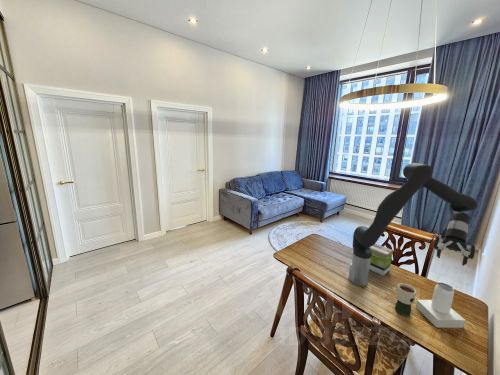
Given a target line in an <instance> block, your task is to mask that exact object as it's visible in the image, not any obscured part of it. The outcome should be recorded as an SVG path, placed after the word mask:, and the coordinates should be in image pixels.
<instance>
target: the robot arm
mask: <svg viewBox="0 0 500 375" xmlns="http://www.w3.org/2000/svg"><path fill="white" fill-rule="evenodd" d="M402 174H403V176H404V178H405V179H407V180H406V182H404V184H403V185H401V186H400V187H399V188H397V189H395V190H393V191H392V192H391V193H389V194H387V195H386V196H385V197H384V199H383V200H382V201H381V202H380V204H379V205H378V206H377V208H376V209H377V210H376V213H375V217H374V220H373V222H372V223H371V225H370V226H369V227H367V226H365V225H360V226H358V227H356V228H355V230H354V232H353V235H352V236H353V237H352V249H353V252H352V258H351V259H352V261H351V263H350V264H349V270H348V280H349V281H350V282H351V283H352V285H354V286H359V287H366V286H368V282H369V276H370V271H371V270H370V263H371V256H372V252H371V249H370V247H371V246H373V245H374V244H377V242H378V241H379V239H380V238H381V236H382V235H383V234H384V232H385V230H386V229H387V228H388V226H389V225H390V224H391V222H392V221H393V220H394V219H395V217H396V216H397V215H398V214H399V213H400V212H401V211H402V209H403V208H404V207H405V205H406V204H407V203H408V202H409V201H410V200H411V199H412V198H413V196H414V195H415V194H416V193H417V192H418V191H419V190H420V189H421V188H422V187H424V188H425V189H426V190H427V191H429V192H431V193H433V195H435V196H437V197H438V198H439V199H441V200H442V201H444V202H445V203H448V208H449V213H450V214H449V215H450V217H449V222H448V224H447V228H446V233H445V236H444V238H441V237H439V236H436V238H435V241H434V244H433V246H432V247H433V249H435V250H436V257H437V259H440V258H441V253H442V252H443V250H446V249H448V250H450V251H454V252H459V253H460V254H461V255H462V256H463V258H462V263H461V265H462V266H466V265H467V264H468V259H470V260H473V259H474V257H475V251H476V247H475V244H474V245H473V244H472V245H469V244H467V238H468V232H469V225H470V219H471V217H470V215H469V214H468V213H465V212H472V211H475V210H476V209H477V208H478V202H477V200H476V199H474V197H472V196H470V195H467V194H465V193H461V192H458V191H457V190H455V189H454V188H452V187H451V186H449V185H448V184H447V183H444V182H442V181H440V180H438V179H436V178H435V177H432V176H433V168H432V167H431V165H428V164H426V163H425V164H424V163H417V162H412V163H411V162H410V163H409V164H406V165H405V166H404V167H403V170H402ZM439 243H443V244H442V245H440V246H438V245H439ZM466 249H467V250H469V254H468V252H466Z"/></svg>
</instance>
